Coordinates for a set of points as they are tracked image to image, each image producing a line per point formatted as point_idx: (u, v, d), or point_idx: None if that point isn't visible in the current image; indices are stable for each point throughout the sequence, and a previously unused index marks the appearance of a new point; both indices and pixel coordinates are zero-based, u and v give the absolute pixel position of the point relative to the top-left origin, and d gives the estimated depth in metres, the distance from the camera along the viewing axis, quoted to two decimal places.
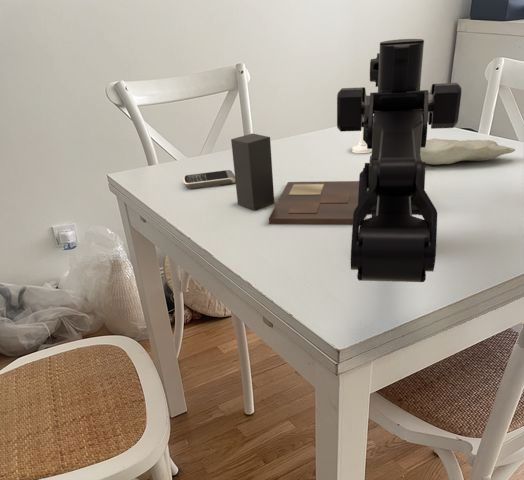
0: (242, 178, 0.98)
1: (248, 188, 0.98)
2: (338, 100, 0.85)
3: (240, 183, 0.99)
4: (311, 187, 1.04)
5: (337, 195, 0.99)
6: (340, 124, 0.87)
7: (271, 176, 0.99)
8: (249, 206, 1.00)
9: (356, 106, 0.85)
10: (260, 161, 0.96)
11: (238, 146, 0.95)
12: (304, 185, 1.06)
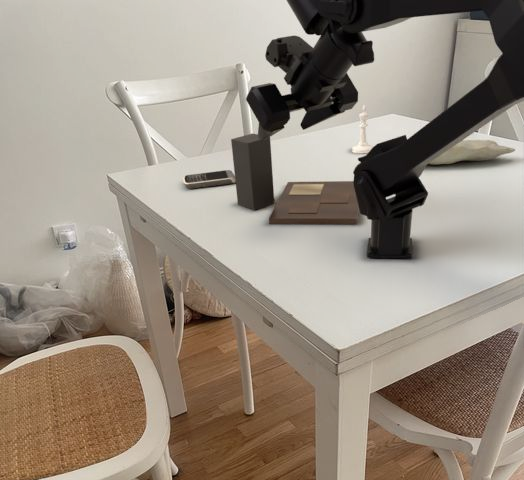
0: (242, 178, 0.98)
1: (248, 188, 0.98)
2: (256, 92, 0.76)
3: (240, 183, 0.99)
4: (311, 187, 1.04)
5: (337, 195, 0.99)
6: (270, 110, 0.76)
7: (271, 176, 0.99)
8: (249, 206, 1.00)
9: (275, 92, 0.78)
10: (260, 161, 0.96)
11: (238, 146, 0.95)
12: (304, 185, 1.06)
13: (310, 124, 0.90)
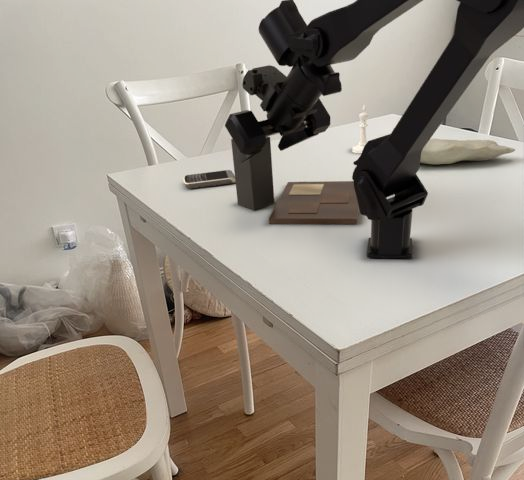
0: (242, 178, 0.98)
1: (248, 188, 0.98)
2: (233, 119, 0.82)
3: (240, 183, 0.99)
4: (311, 187, 1.04)
5: (337, 195, 0.99)
6: (247, 136, 0.82)
7: (271, 176, 0.99)
8: (249, 206, 1.00)
9: (252, 119, 0.83)
10: (260, 161, 0.96)
11: None
12: (304, 185, 1.06)
13: (287, 146, 0.95)
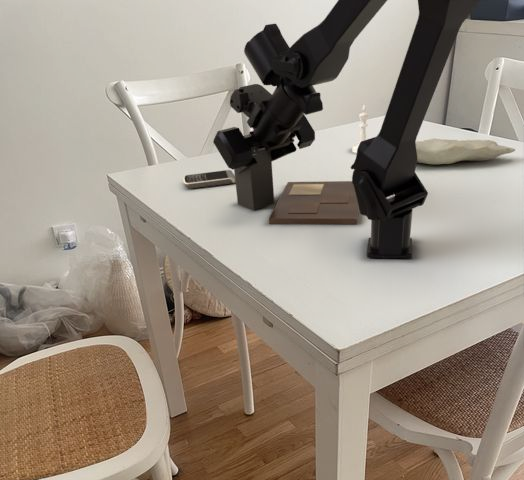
0: (241, 178, 0.98)
1: (248, 188, 0.98)
2: (221, 136, 0.86)
3: (240, 183, 0.99)
4: (311, 187, 1.04)
5: (337, 195, 0.99)
6: (234, 152, 0.86)
7: (271, 176, 0.99)
8: (249, 206, 1.00)
9: (239, 135, 0.88)
10: (260, 161, 0.96)
11: None
12: (304, 185, 1.06)
13: None
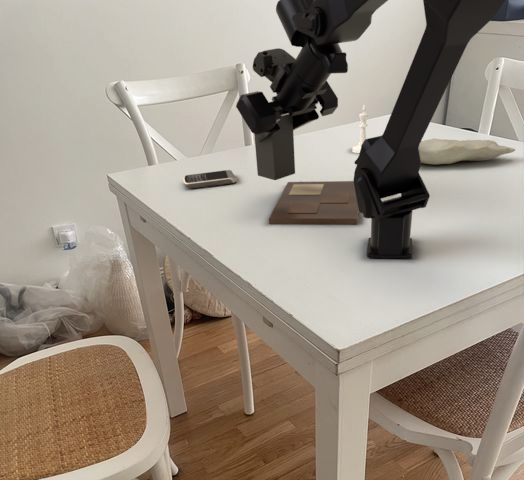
0: (262, 147, 0.96)
1: (269, 157, 0.96)
2: (245, 99, 0.85)
3: (261, 152, 0.97)
4: (311, 187, 1.04)
5: (337, 195, 0.99)
6: (258, 116, 0.84)
7: (292, 145, 0.97)
8: (270, 176, 0.98)
9: (262, 99, 0.86)
10: (282, 129, 0.94)
11: None
12: (304, 185, 1.06)
13: None
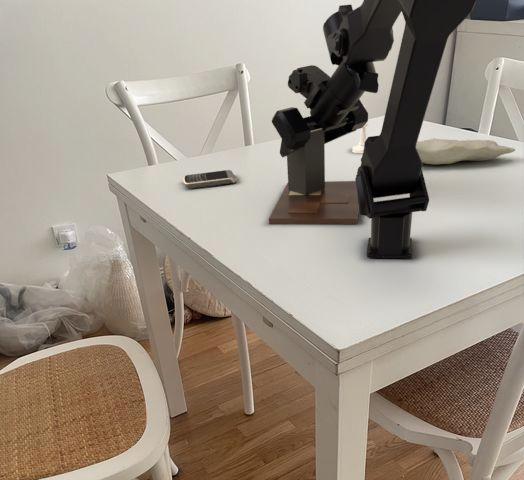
0: (294, 163, 0.99)
1: (301, 173, 0.99)
2: (281, 115, 0.88)
3: (292, 168, 1.00)
4: None
5: (337, 195, 0.99)
6: (294, 131, 0.87)
7: (323, 161, 1.00)
8: (301, 191, 1.01)
9: (297, 115, 0.89)
10: (314, 146, 0.97)
11: None
12: None
13: (325, 141, 1.01)
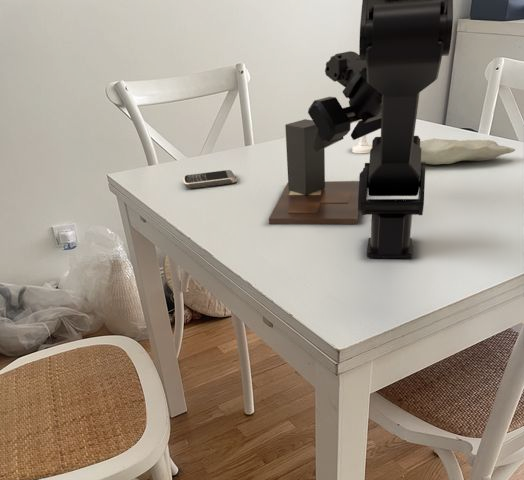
0: (294, 163, 0.99)
1: (301, 173, 0.99)
2: (319, 105, 0.80)
3: (292, 168, 1.00)
4: None
5: (337, 195, 0.99)
6: (333, 123, 0.80)
7: (323, 161, 1.00)
8: (301, 191, 1.01)
9: (336, 105, 0.81)
10: None
11: (293, 131, 0.96)
12: None
13: (361, 134, 0.94)
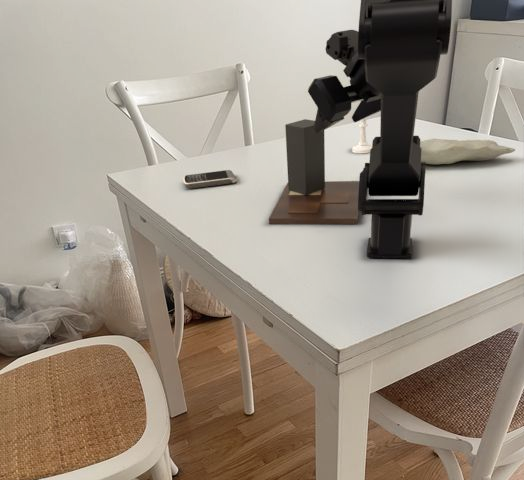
0: (294, 163, 0.99)
1: (301, 173, 0.99)
2: (319, 83, 0.79)
3: (292, 168, 1.00)
4: None
5: (337, 195, 0.99)
6: (334, 101, 0.78)
7: (323, 161, 1.00)
8: (301, 191, 1.01)
9: (337, 84, 0.80)
10: (314, 146, 0.97)
11: (293, 131, 0.96)
12: None
13: (362, 116, 0.92)
